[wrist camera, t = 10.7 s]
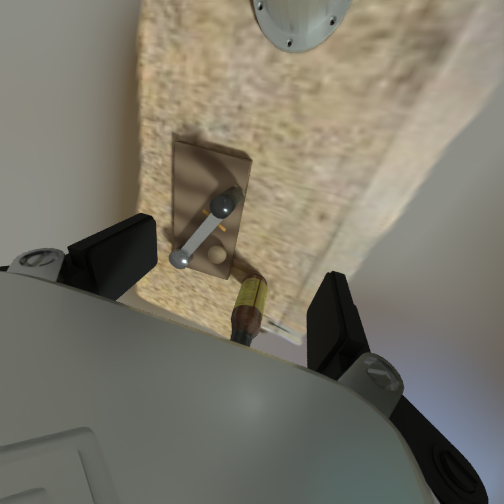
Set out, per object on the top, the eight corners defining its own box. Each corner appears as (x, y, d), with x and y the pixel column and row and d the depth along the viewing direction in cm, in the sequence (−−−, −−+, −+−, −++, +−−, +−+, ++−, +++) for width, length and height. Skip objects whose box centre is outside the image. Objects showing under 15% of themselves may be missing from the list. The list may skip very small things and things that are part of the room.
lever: (187, 265, 49) (164, 291, 41) (172, 253, 48) (145, 277, 40) (252, 195, 37) (238, 211, 29) (234, 177, 36) (214, 189, 28)
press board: (180, 141, 38) (161, 141, 32) (252, 160, 36) (244, 164, 31) (177, 258, 52) (164, 272, 47) (229, 275, 51) (221, 290, 45)
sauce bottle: (239, 285, 51) (208, 357, 35) (251, 268, 48) (222, 339, 31) (261, 297, 52) (241, 375, 35) (274, 282, 49) (259, 359, 32)
